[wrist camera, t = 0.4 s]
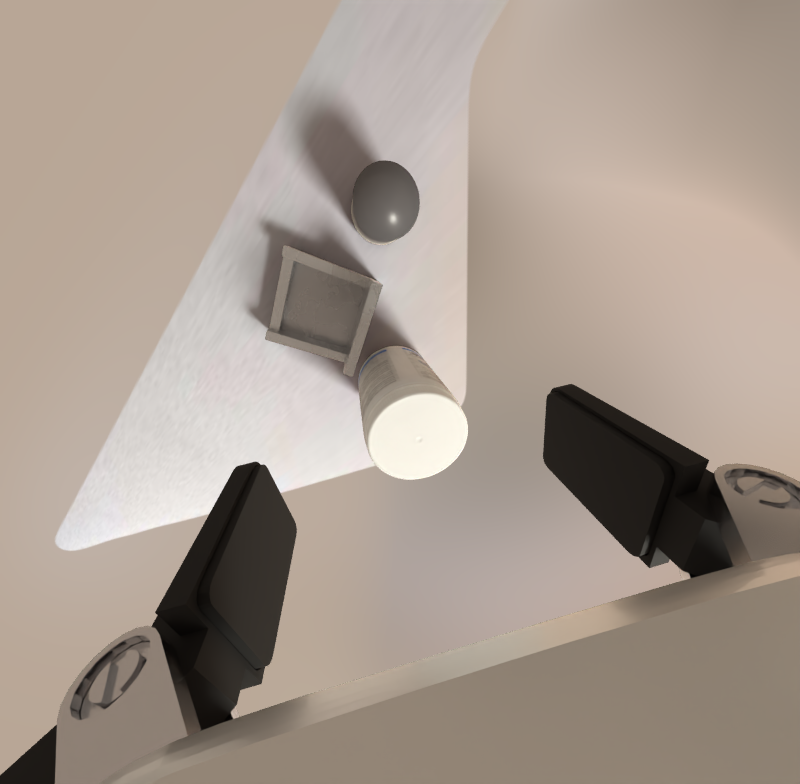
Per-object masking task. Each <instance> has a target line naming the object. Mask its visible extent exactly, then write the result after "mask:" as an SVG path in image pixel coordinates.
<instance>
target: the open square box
mask: <svg viewBox="0 0 800 784" xmlns="http://www.w3.org/2000/svg"><path fill="white" fill-rule="evenodd" d="M281 256H283V260H282V265H281V270H280V276H279V281H278V286H277V291H276V296H275V301H274V306H273V311H272V316H271V321H270V326H269V329H268V330H267V332H266V337H265V339H266V340H269V341H272V342H276V343H279V344H283V345H286V346H289V347H293V348H296V349H300V350H303V351H307V352H310V353H313V354H317V355H320V356H324V357H327V358H331V359H334V360H337V361H341V362H344V370H343V374H344V375H347V376H351V377H353V374H354V371H355V368H356V365H357V362H358V359H359V356H360V353H361V350H362V347H363V344H364V341H365V338H366V335H367V332H368V329H369V326H370V322H371V319H372V316H373V313H374V310H375V307H376V304H377V301H378V298H379V295H380V292H381V289H382V286H383V285H382V284H381V283H379V282H378V281H377V280H375V279H372V278H370V277H367V276H365V275H362V274H360V273H357V272H354V271H352V270H349V269H347V268H344V267H342V266H339V265H337V264H334V263H331V262H329V261H326V260H324V259H321V258H319V257H316V256H313V255H311V254H308V253H306V252H303V251H301V250H298V249H296V248H293V247H290V246H286V245H283V250H282V255H281Z"/></svg>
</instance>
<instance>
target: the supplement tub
mask: <svg viewBox="0 0 800 784" xmlns="http://www.w3.org/2000/svg"><path fill="white" fill-rule="evenodd" d="M358 387H359V396H360V406H361V415H362V423H363V432H364V438H365V442H366V445H367V448H368V452H369V455H370V457H371V459H372V461H373V462H374V464H375V465H376V466H377V467H378V468H379V469H380V470H382V471H383V472H385V473H386V474H388V475H390V476H393V477H396V478H400V479H420V478H425V477H429V476H432V475H434V474H437V473H438V472H440V471H442V470H444V469H445V468H446V467H448V466H449V465H450V464H451V463H452V462H453V461H455V459H456V458H457V457H458V456H459V454H460V453H461V451H462V450H463V448H464V445H465V443H466V439H467V435H468V425H467V419H466V416H465V414H464V412H463V411H462V408H461V406H460V404H459V403H458V401H457V400H456V399H455V397H454V396H453V395H452V394H451V392H450V391H449V390H448V388H447V387H446V386H445V385H444V384H443V382H442V381H441V380H440V379H439V377H438V376H437V375H436V374H435V373H434V371H433V370H432V369H431V368H430V366H429V365H428V364H427V363H426V362H425V360H424V359H423V358H422V357H421V356H420V355H419V354H418V353H417V352H415V351H414V350H412V349H410V348H407V347H403V346H389V347H385V348H382V349H380V350H378V351H376V352H375V353H373V354H372V355H371V356H369V357H368V358H367V360H366V361H365V362H364V364H363V365H362V367H361V370H360V373H359V377H358Z"/></svg>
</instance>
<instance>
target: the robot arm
mask: <svg viewBox="0 0 800 784" xmlns="http://www.w3.org/2000/svg"><path fill="white" fill-rule="evenodd" d="M543 459H544V462H545V464H546V466H547V467H548V468H549V469H550V470H551V471H552V472H553V474H554V475H555V476H556V477H557V478H558V479H559V480H560V481H561V482H562V483H563V484H564V485H565V486H566V487H567V488H568V489H569V490H570V491H571V492H572V493H573V495H575V497H576V498H578V499H579V501H580V502H581V503H582V504H583V505H584V506H585V507H586V508H587V509H588V510H589V511H590V512H591V513H592V514H593V515H594V516H595V518H596V519H597V520H598V521H599V522H600V523H601V524H602V525H603V526H604V527H605V528H606V529H607V530H608V531H609V532H610V533H611V534H612V535H613V536H614V537H615V539H616V540H618V542H619V543H620V544H621V545H622V546H623V547H624V548H625V549H626V550H627V551H628V552H629V553H630V554H632V555H633V556H637V557H639V558H640V559H641V560H642V561H643V562H644V563H645V564H646V565H647V566H648V567H649V568H651V567H654V566H658V565H661V564H664V563H668V562H669V559H671V561H672V562H674V563H675V564H676V565H677V566H678V568H679V572H680V576H681V581H680V582H676V583H673V584H669V585H666V586H663V587H659V588H656V589H653V590H649V591H646V592H643V593H639V594H636V595H633V596H629V597H626V598H622V599H619V600H616V601H612V602H609V603H606V604H603V605H599V606H596V607H592V608H589V609H585V610H582V611H579V612H576V613H572V614H569V615H566V616H562V617H559V618H555V619H552V620H549V621H546V622H542V623H539V624H536V625H532V626H529V627H526V628H522V629H519V630H516V631H513V632H509V633H506V634H503V635H499V636H496V637H493V638H490V639H486V640H483V641H480V642H476V643H473V644H470V645H467V646H463V647H460V648H457V649H453V650H451V651H447V652H444V653H441V654H437V655H434V656H431V657H427V658H424V659H421V660H418V661H414V662H411V663H408V664H405V665H402V666H398V667H395V668H392V669H389V670H385V671H382V672H379V673H376V674H372V675H369V676H366V677H363V678H360V679H356V680H353V681H350V682H347V683H343V684H340V685H337V686H334V687H330V688H327V689H324V690H321V691H318V692H314V693H311V694H308V695H305V696H302V697H299V698H296V699H293V700H289V701H286V702H284V703H280V704H277V705H274V706H271V707H269V708H265V709H262V710H259V711H257V712H253V713H250V714H247V715H244V716H242V717H240V716H239V714H238V711H237V709H236V705H237V701H238V697H239V693H240V690H242V689H245V688H248V687H252V686H255V685H259V684H261V683H262V679H263V673H264V669H265V666H267V665H269V664H270V662H271V659H272V656H273V651H274V647H275V642H276V637H277V632H278V626H279V621H280V616H281V611H282V606H283V601H284V595H285V590H286V585H287V580H288V575H289V569H290V564H291V559H292V554H293V549H294V544H295V538H296V533H297V531H296V530H297V529H296V523H295V521H294V519H293V517H292V515H291V513H290V511H289V509H288V507H287V505H286V503H285V501H284V499H283V498H282V496H281V494H280V492H279V490H278V488H277V486H276V484H275V482H274V480H273V478H272V476H271V474H270V472H269V470H268V468H267V467H266V466H265V465H260V464H259V463H258V462H252V463H248V464H244V465H240V466H237V467H236V468H235V469H234V471H233V472H232V474H231V476H230V478H229V480H228V481H227V483H226V485H225V487H224V489H223V490H222V492H221V494H220V496H219V498H218V500H217V501H216V503H215V505H214V507H213V509H212V510H211V512H210V514H209V516H208V518H207V520H206V521H205V523H204V525H203V527H202V529H201V531H200V532H199V534H198V536H197V538H196V540H195V541H194V543H193V545H192V547H191V549H190V550H189V552H188V554H187V556H186V558H185V560H184V561H183V563H182V565H181V567H180V569H179V570H178V572H177V574H176V576H175V578H174V579H173V581H172V583H171V585H170V587H169V588H168V590H167V592H166V594H165V596H164V598H163V599H162V601H161V603H160V605H159V607H158V608H157V610H156V612H155V613H156V614H157V615H158V616H157V618H156V620H155V622H154V623H153V625H152V627H150V626H144V627H139V628H135V629H133V630H131V631H129V632H127V633H125V634H123V635H122V636H120V637H119V638H117V639H116V640H114V641H113V642H111V643H110V644H109V645H108V646H106V647H105V648H104V649H103V650H102V651H101V652H100V653H98V654H97V655H96V656H95V657H94V658H93V659H92V660H91V661H90V663H89V664H88V665H87V666H86V667H85V668H84V669H83V670H82V672H81V673H80V674H79V675H78V677H77V678H76V680H75V681H74V682H73V684H72V685H71V687H70V688H69V690H68V692H67V694H66V696H65V698H64V700H63V702H62V704H61V706H60V710H59V714H58V719H57V725H56V726H55V727H54V728H53V729H51V730H50V731H49V732H48V733H47V734H46V735H45V736H44V737H42V739H40V740H39V741H38V742H37V743H36V744H35V745H34V746H32V747H31V748H30V749H29V750H28V751H27V752H26V753H25V754H24V755H22V756H21V757H20V758H19V759H18V760H17V761H16V762H15V763H14V764H13V765H11V766H10V767H9V768H8V769H7V770H6V771H5V772H4V773H2V774H1V775H0V784H800V482H799V481H797V480H795V479H793V478H791V477H788V476H786V475H784V474H782V473H779V472H776V471H772V470H770V469H767V468H763V467H758V466H753V465H747V464H726V465H723V466H721V467H718V468H717V470H716V471H715V472H714V473H712V472H710V471H708V470H707V469H706V467H707V464H708V461H709V460H708V459H706V458H704V457H702V456H701V455H698V454H697V453H695V452H693V451H691V450H689V449H688V448H686V447H684V446H683V445H681V444H679V443H677V442H675V441H674V440H672V439H670V438H668V437H666V436H665V435H663V434H661V433H659V432H657V431H656V430H654V429H652V428H650V427H648V426H647V425H645V424H643V423H641V422H639V421H638V420H636V419H634V418H632V417H631V416H629V415H627V414H625V413H623V412H621V411H620V410H618V409H616V408H614V407H613V406H611V405H609V404H607V403H605V402H604V401H602V400H600V399H598V398H596V397H595V396H593V395H591V394H589V393H587V392H586V391H584V390H582V389H580V388H579V387H577V386H575V385H572V384H569V385H565V386H560V387H556V388H553V389H552V390H551V392H550V394H549V395H548V396H547V401H546V418H545V435H544V452H543Z"/></svg>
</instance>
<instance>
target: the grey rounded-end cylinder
mask: <svg viewBox="0 0 800 784" xmlns="http://www.w3.org/2000/svg"><path fill="white" fill-rule="evenodd" d="M419 204H420V201H419V192H418V189H417V186H416V183H415V181H414V179H413V177H412V176H411V175H410V173H409V172H408V171H407V170H406V169H405V168H404V167H402V166H401V165H399V164H397V163H395V162H391V161H378V162H375V163H372V164H371V165H369V166H367V167H366V168H365V169H364V170H363V171H362V172H361V174H360V175H359V177H358V179H357V181H356V183H355V186H354V191H353V198H352V204H351V215H352V220H353V223H354V226H355V228H356V230H357V231H358V233H359V234H360V235H361V236H362V237H363V238H364V239H365V240H367V241H368V242H370V243H372V244H376V245H386V244H389V243H392V242H394V241H395V240H397V239H398V238H401V237H402V236H404V235H405V234H406V233H408V232H409V231H410V229H411V228H412V227H413V225H414V223H415V221H416V219H417V216H418V212H419Z"/></svg>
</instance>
